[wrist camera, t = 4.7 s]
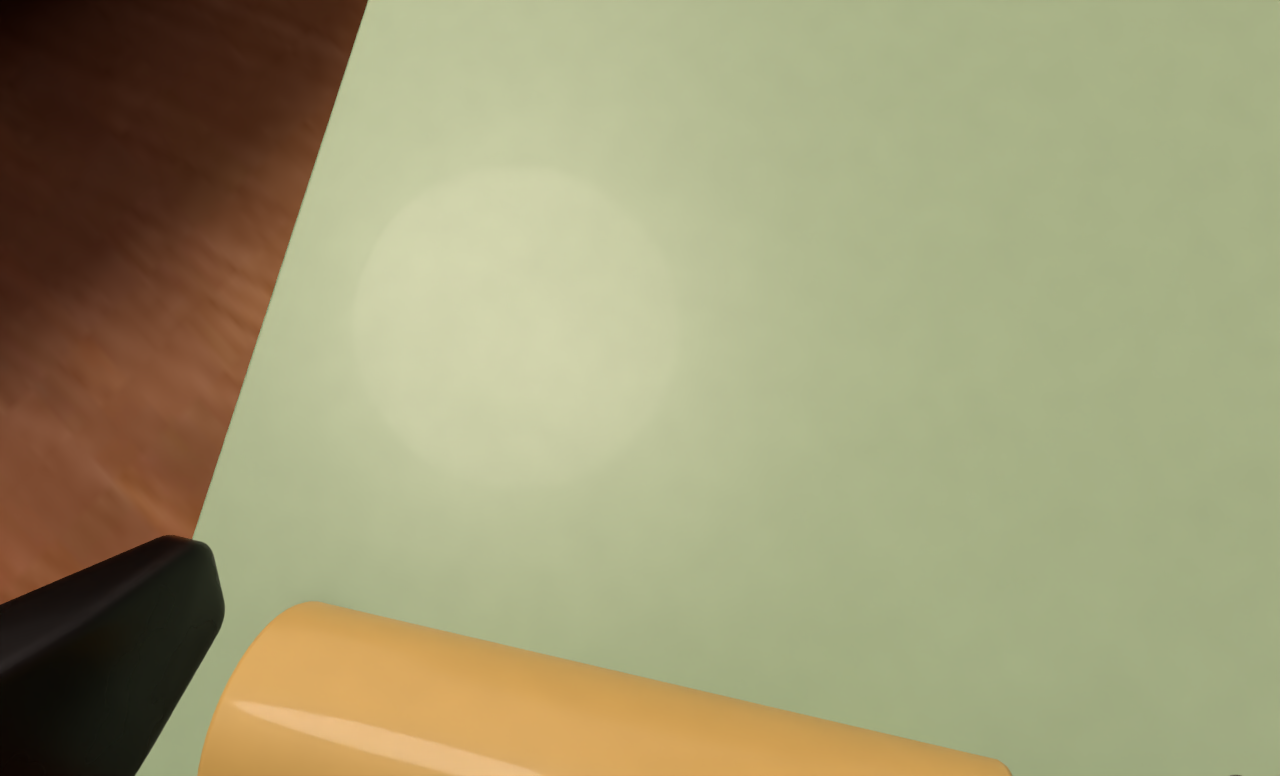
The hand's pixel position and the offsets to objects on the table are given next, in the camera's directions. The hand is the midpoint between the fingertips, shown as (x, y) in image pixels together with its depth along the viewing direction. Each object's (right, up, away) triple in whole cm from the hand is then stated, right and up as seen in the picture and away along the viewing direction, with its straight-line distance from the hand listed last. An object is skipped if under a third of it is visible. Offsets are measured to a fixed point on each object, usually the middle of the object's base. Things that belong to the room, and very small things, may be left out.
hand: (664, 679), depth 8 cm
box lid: (+1, +3, +3) cm, 4 cm away
